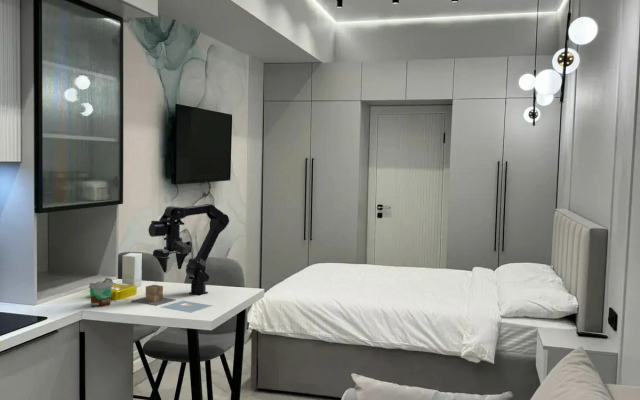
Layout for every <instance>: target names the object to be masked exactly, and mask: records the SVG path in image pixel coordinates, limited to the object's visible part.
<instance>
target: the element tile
mask: <svg viewBox="0 0 640 400" xmlns="http://www.w3.org/2000/svg"><path fill="white" fill-rule="evenodd" d="M113 284H114V285H113V286H112V290H111V301H122V300H124V299H127V298H130V297H133V296H136V295H137V294H138V292H137V290H138V287H137V286H136V285H129V284H122V283H118V282H113ZM90 298H91V296H90Z"/></svg>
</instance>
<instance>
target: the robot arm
mask: <svg viewBox="0 0 640 400" xmlns="http://www.w3.org/2000/svg"><path fill="white" fill-rule="evenodd" d="M203 214H206V216H207V218H209V230H208V232H207V234H206V236H205V237H204V239H203V242H202V244H201V245H200V248H199V250H198V253H197V255H196V256H195V257H194V258H189V260H188V262H187V264H186V265H185V273H186V275H187V276H188V279H189V280H190V281H191V285H190V292H188V294H189V295H195V296H202V295H205V294H208V293H209V292H208V291H206V287H207V286H206V284H207V282H208V281H209V279H210V276H209V274H208V273H206V269H207V261H208V258H209V256H210V254H211V251H212V249H213V247H214V245H215V244H216V241H217V239H218V237H219V236H220V234H221V233H222V232H223V231H224V230H225V229H226V228H227V227H228V225H229V223H230V217H229V216H228V214H226V213H224V212H222V210H220V209H218V208H217V207H216V206H215V205H214V204H212V203H211V204H210V203H205V204H201V205H200V204H198V205H191V206H183V207H182V206H170V205H169V206H166V208H165V209H164V212H163V214H162V215H161V217H160V218H159V220H151V222H150V224H149V226H148V235H149V236H150V237H151V238H153V237H155V238H157V237H164V236H165V237H164V238H163V241H165V246H164V247H163V248H158V249H154V250H153V251H152V256H153V257H154V258H155V259H157V261H158V263H159V265H160V267H161V270H162V272H163V273H167V270H168V269H167V268H168V260H170V255H171V254H175V259H176V260H175V261H176V265H177V268H178V270H181V269H182V266H183V264H184V261H185V259H186V257H187V256H189V255H190V253H192V249H193V242H192V241H189V240H188V241H185V242H184V241H183V239H182V237H181V235H180V229H181V227H180V226H183V225H185V223H184V222H183V220H182V219H184V218H187V217H190V216H195V215H203Z"/></svg>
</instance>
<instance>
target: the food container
mask: <svg viewBox="0 0 640 400" xmlns="http://www.w3.org/2000/svg"><path fill="white" fill-rule="evenodd" d="M113 283H114V281H113V279H112V278H109V277H105V279H104V280H101V281H97V282H90V283H89V285H88V288H89V294H90V296H91V297H90V308H101V307H107V306H110V305H111V301H112V300H111V290H112V286H113V285H114V284H113Z"/></svg>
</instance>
